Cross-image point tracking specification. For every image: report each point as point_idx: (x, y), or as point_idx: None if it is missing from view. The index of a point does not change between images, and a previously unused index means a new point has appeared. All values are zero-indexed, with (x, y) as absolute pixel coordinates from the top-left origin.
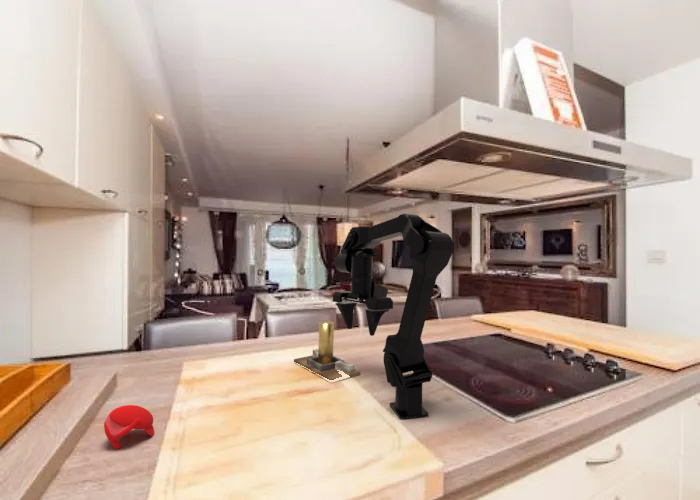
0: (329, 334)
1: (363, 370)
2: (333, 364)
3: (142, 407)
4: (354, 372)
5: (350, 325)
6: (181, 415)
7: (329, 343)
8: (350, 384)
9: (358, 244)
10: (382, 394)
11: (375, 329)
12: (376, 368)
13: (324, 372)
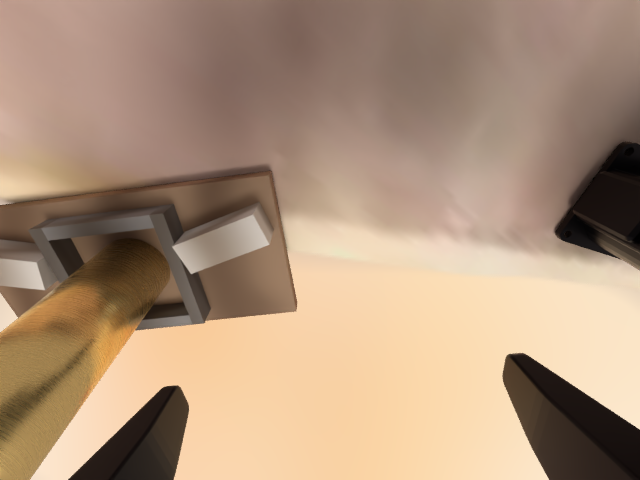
0: (74, 396)
1: (221, 119)
2: (186, 270)
3: None
4: (270, 205)
5: (169, 424)
6: None
7: (110, 345)
8: (338, 253)
9: None
10: (478, 203)
11: (587, 405)
12: (218, 26)
13: (222, 303)
